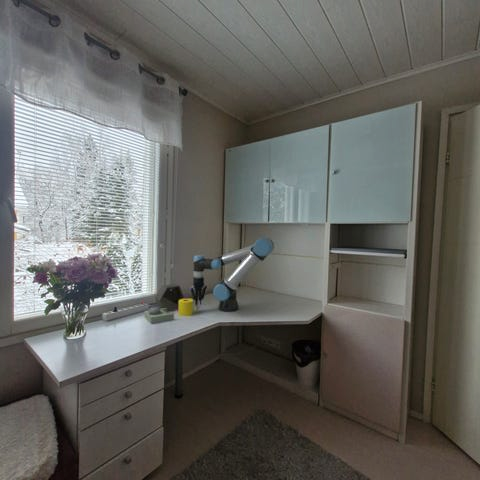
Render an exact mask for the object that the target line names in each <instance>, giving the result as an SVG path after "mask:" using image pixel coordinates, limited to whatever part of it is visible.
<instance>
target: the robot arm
mask: <svg viewBox="0 0 480 480" xmlns="http://www.w3.org/2000/svg"><path fill="white" fill-rule="evenodd" d="M274 249H275V243H274V241H273V240H272V239H270V238H268V237H261V238H258V239H257V240H256V241H255V242H254V243H253V244H251V245H248V246H246V247H243V248H240V249H238V250H234V251H232V252H229V253H225V254H222V255H220V256H217V257H213V258H206V257H205V255H203V254H200V255H199V254H196V255H194V256H193V279H192V280H193V284H192V286H190V287H189V289H190V291H191V295H192V299H193V301H194V303H195V304H194V305H195V306H196V307H195V308H196V310H197V311H200V309H201V305H202V300H204V299H205V293H206V290H207V288H208V286H207V285H205V283H204V282H205V270H214V271H216V270H217V271H219V270H220V269H221V268H222V267H223V266H226V265H229V264H233V263H235V262H239V261H241V260H242V261H241V262H240V263H239V264H238V265H237V267H236V268H235V269H234V270H233V271H232V272H231V273H230V274H229V275H228V276H227V277H223V278H221V281H220V282H219V283H218V284H217V285H215V286H214V288H213V297H214V298H215V299H216V300H218V301H219V303H218V310H219V311H222V312H236V311H238V310H239V308H240V307H239V303H238V300H237V293H238V292H237V290H238V287H237V286H238V285H239V284H240V283H241V282H242V281H243V280H244V279H245V278H246V276H248V274H249V273H250V272H252V270H253V269H254V268H255V267H256V266H257V265H258V264H259V262H263V261H264V260H265V259H266V258H267V257H268V256H269V255H270V254H271V253H272V252H273V251H274Z"/></svg>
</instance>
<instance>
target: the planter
mask: <svg viewBox="0 0 480 480" xmlns="http://www.w3.org/2000/svg"><path fill="white" fill-rule="evenodd" d="M154 299H155V302H156V303H157V307H160V308H161V309H162V308H167V313H168V312H172V311H177V310H178V309H179V300H180V299H185V297H184V293H183V291H182V289H181V286H180V285H177V284H175V283H172V284H165V285H161V286H160V288H159V290H158V291H157V293H156V295H155V296H154Z"/></svg>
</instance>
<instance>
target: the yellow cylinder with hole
mask: <svg viewBox="0 0 480 480" xmlns="http://www.w3.org/2000/svg"><path fill="white" fill-rule="evenodd" d="M177 310H178V313H177V314H178V316H181V317H189V316H192V315H194V300H193V298H183V299H180V300H179V307H178V309H177Z"/></svg>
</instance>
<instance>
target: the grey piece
mask: <svg viewBox="0 0 480 480" xmlns="http://www.w3.org/2000/svg"><path fill="white" fill-rule="evenodd" d="M144 318H145V319H146V320H147V321H148V322H149V324H150V325H153V324H159V323H165V322H171V321H174V320H175V313H168V312H167V308H162V309H161V308H160V307H158V306H152V307H149V309H148V310H145V311H144Z"/></svg>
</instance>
